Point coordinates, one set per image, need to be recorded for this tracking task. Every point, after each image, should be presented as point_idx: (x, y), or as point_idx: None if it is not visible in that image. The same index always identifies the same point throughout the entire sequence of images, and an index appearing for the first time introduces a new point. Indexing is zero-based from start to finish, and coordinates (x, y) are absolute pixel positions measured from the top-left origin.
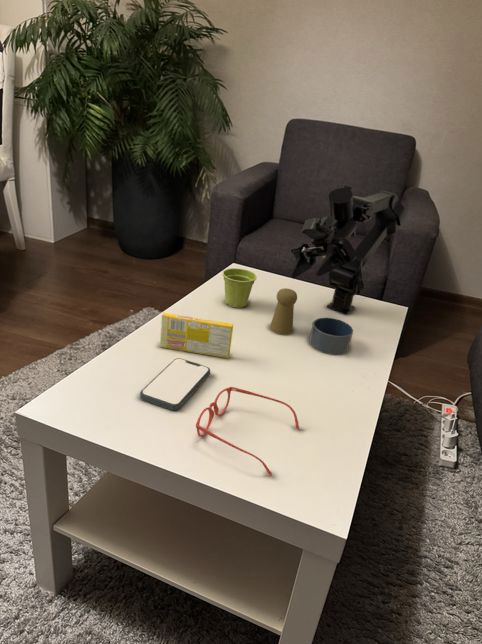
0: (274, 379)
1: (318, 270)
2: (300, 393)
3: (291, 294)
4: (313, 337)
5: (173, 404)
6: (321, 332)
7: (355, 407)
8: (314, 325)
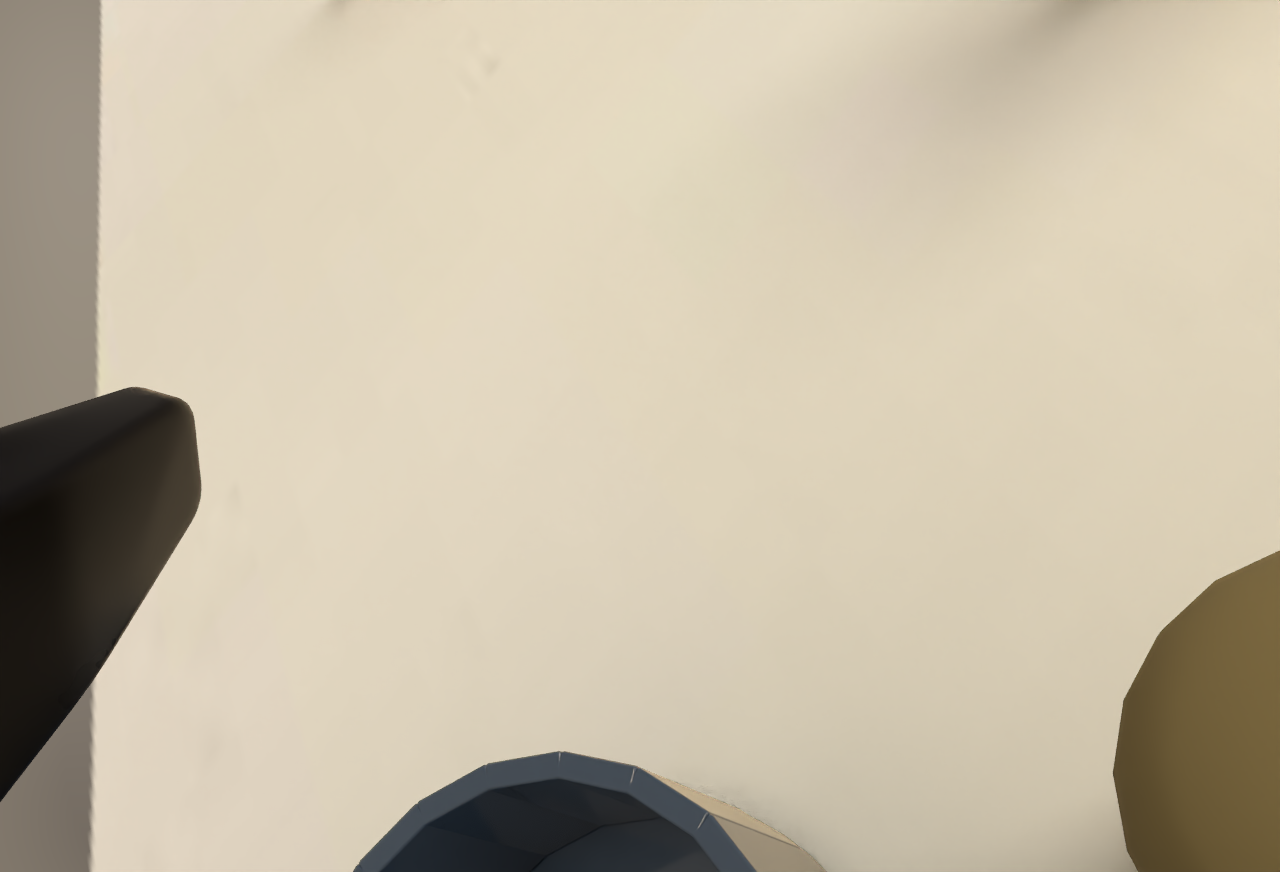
0: (681, 105)
1: (46, 417)
2: (476, 166)
3: (1192, 695)
4: (723, 807)
5: None
6: (559, 757)
7: (185, 366)
8: (719, 860)
